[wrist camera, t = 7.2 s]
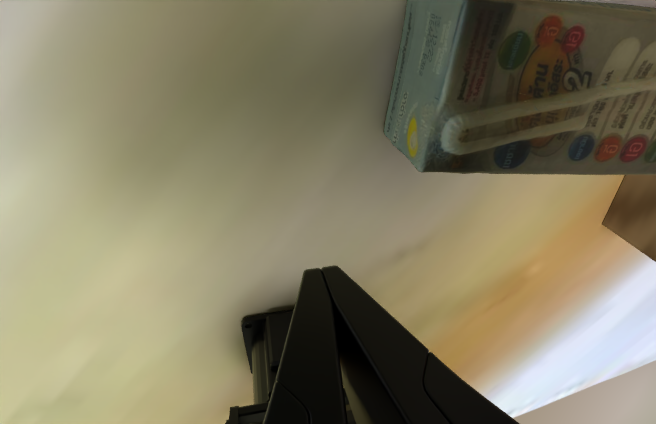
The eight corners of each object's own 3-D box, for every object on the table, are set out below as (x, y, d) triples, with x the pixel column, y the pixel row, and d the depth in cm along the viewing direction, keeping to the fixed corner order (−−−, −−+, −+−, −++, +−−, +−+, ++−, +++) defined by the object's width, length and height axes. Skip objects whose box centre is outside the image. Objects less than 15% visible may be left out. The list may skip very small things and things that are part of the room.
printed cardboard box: (404, -22, 18) (476, -17, 13) (698, 14, 22) (844, 29, 17) (377, 134, 22) (422, 187, 17) (629, 139, 26) (728, 182, 21)
